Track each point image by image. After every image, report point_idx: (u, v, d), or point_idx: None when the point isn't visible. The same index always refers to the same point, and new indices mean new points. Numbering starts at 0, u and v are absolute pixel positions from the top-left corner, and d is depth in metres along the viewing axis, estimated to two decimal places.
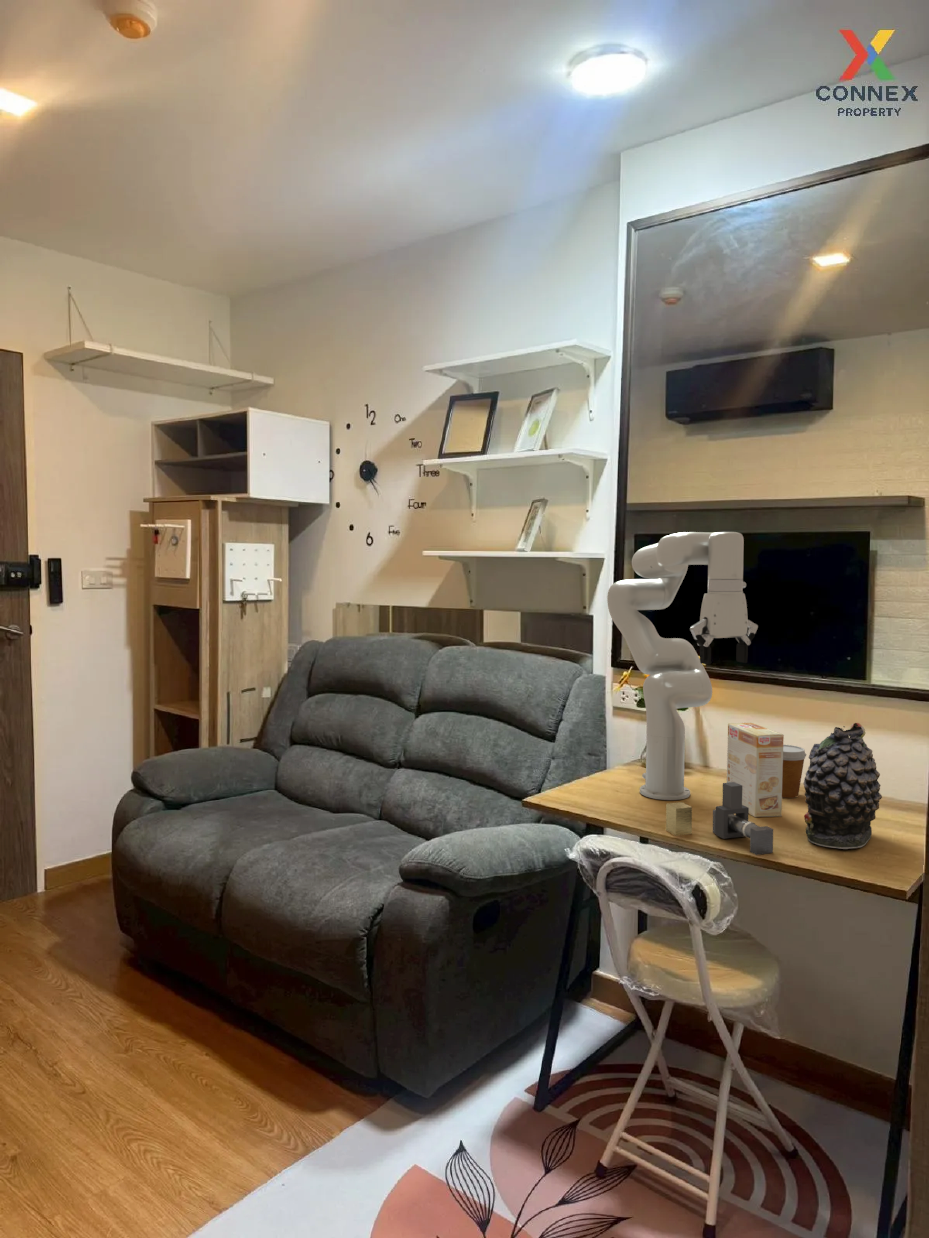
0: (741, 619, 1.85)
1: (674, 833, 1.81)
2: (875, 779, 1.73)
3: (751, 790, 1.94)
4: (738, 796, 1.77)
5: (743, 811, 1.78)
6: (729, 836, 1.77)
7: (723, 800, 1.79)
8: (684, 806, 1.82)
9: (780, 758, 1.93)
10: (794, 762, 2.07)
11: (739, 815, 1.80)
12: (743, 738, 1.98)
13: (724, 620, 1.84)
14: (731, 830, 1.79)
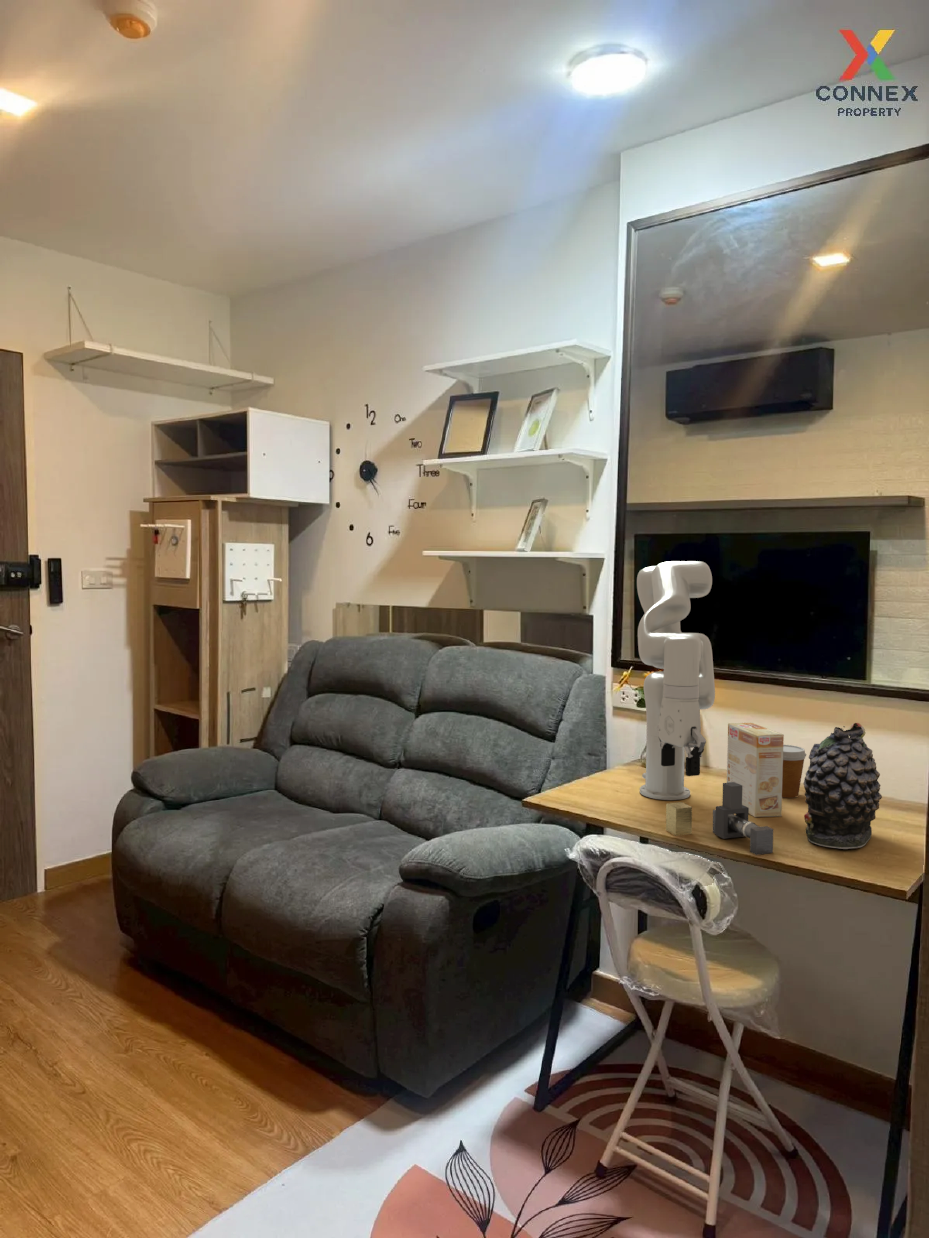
0: None
1: (674, 833, 1.81)
2: (875, 779, 1.73)
3: (751, 790, 1.94)
4: (738, 796, 1.77)
5: (743, 811, 1.78)
6: (729, 836, 1.77)
7: (723, 800, 1.79)
8: (684, 806, 1.82)
9: (780, 758, 1.93)
10: (794, 762, 2.07)
11: (739, 815, 1.80)
12: (743, 738, 1.98)
13: None
14: (731, 830, 1.79)
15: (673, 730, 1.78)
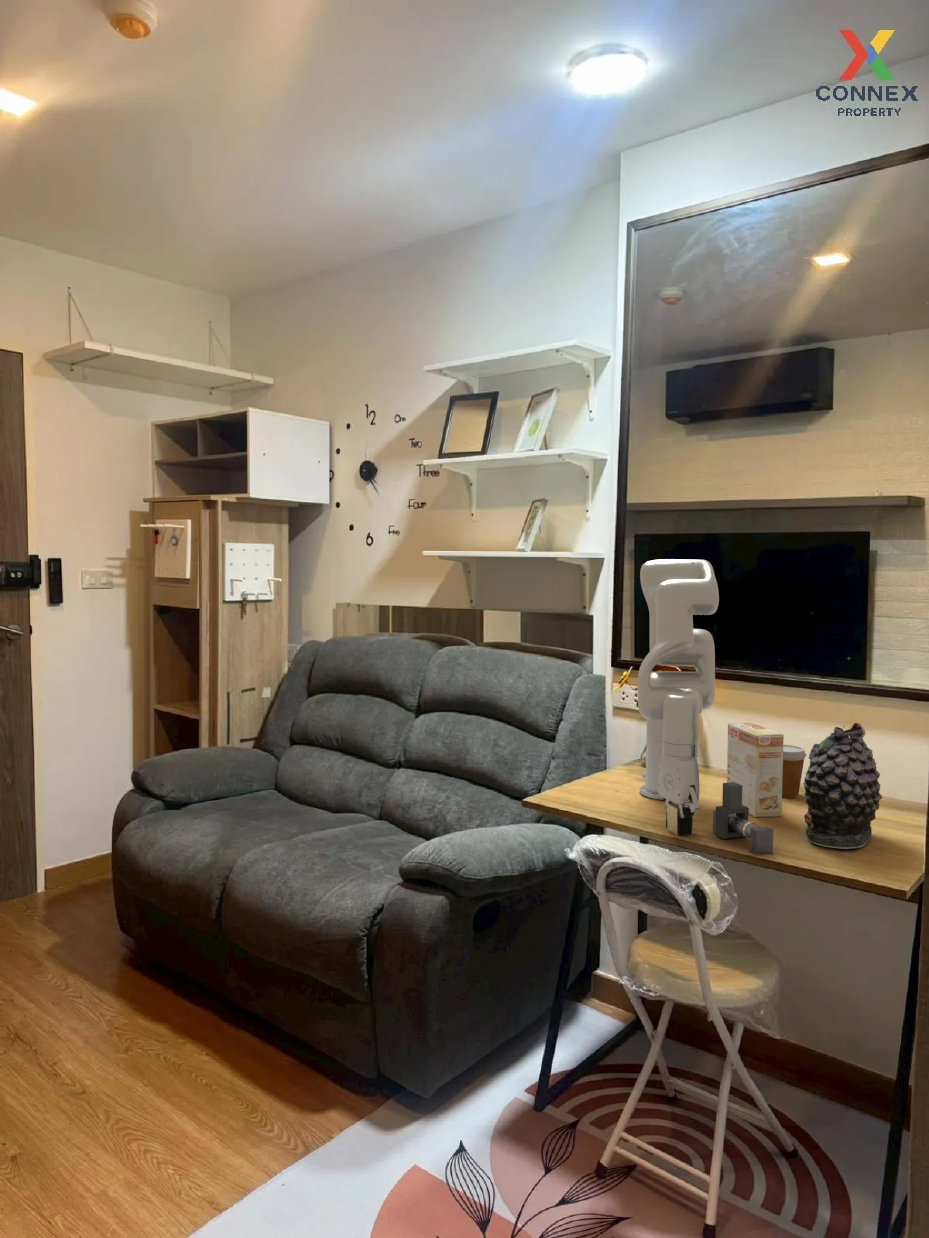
0: None
1: (675, 833, 1.81)
2: (875, 779, 1.73)
3: (751, 790, 1.94)
4: (738, 796, 1.77)
5: (743, 811, 1.78)
6: (729, 836, 1.77)
7: (723, 800, 1.79)
8: None
9: (780, 758, 1.93)
10: (794, 762, 2.07)
11: (739, 815, 1.80)
12: (743, 738, 1.98)
13: None
14: (731, 830, 1.79)
15: (672, 787, 1.80)
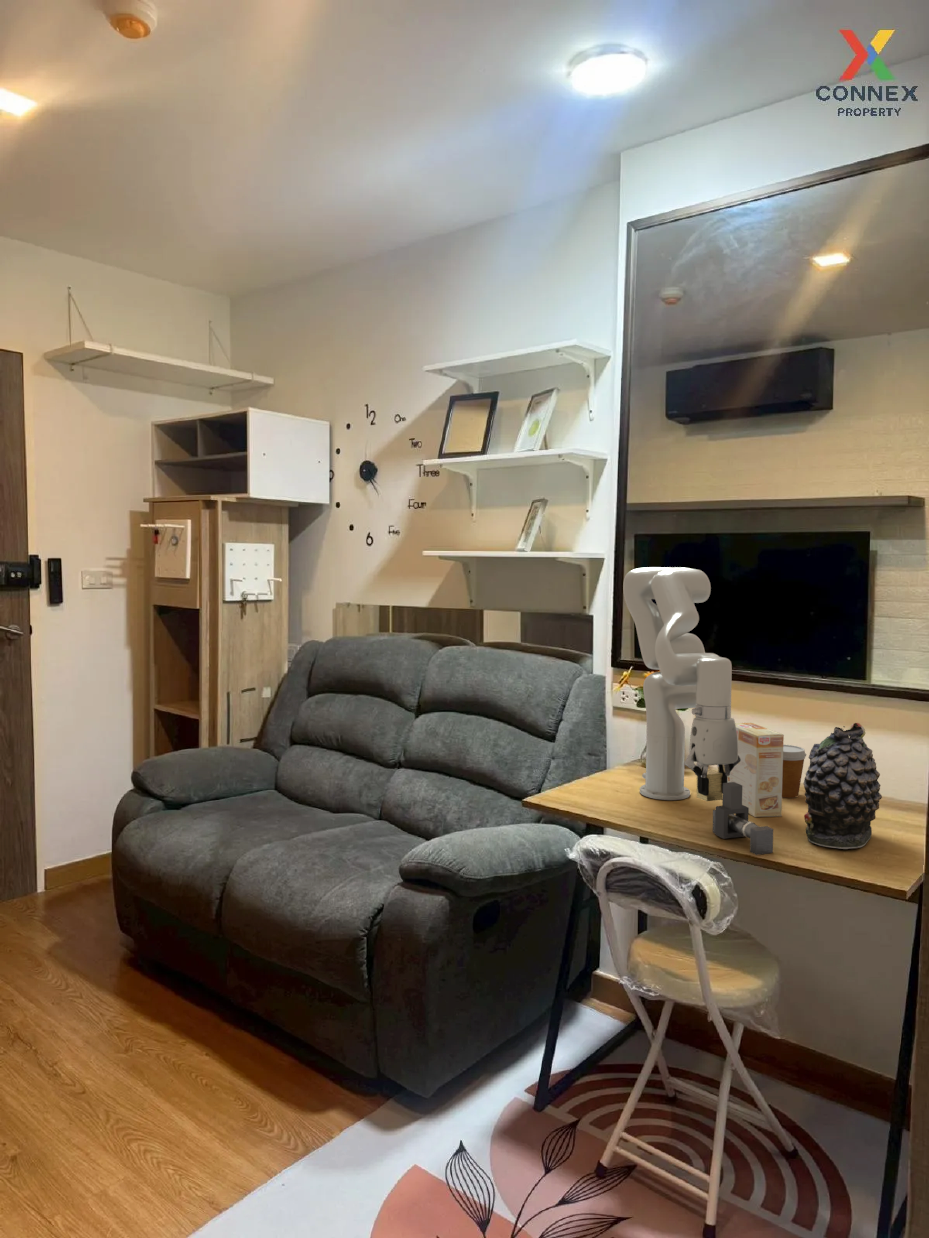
0: None
1: (720, 798, 1.85)
2: (875, 779, 1.73)
3: (751, 790, 1.94)
4: (738, 796, 1.77)
5: (743, 811, 1.78)
6: (729, 836, 1.77)
7: (723, 800, 1.79)
8: (711, 771, 1.88)
9: (780, 758, 1.93)
10: (794, 762, 2.07)
11: (739, 815, 1.80)
12: (743, 738, 1.98)
13: None
14: (731, 830, 1.79)
15: (726, 749, 1.83)
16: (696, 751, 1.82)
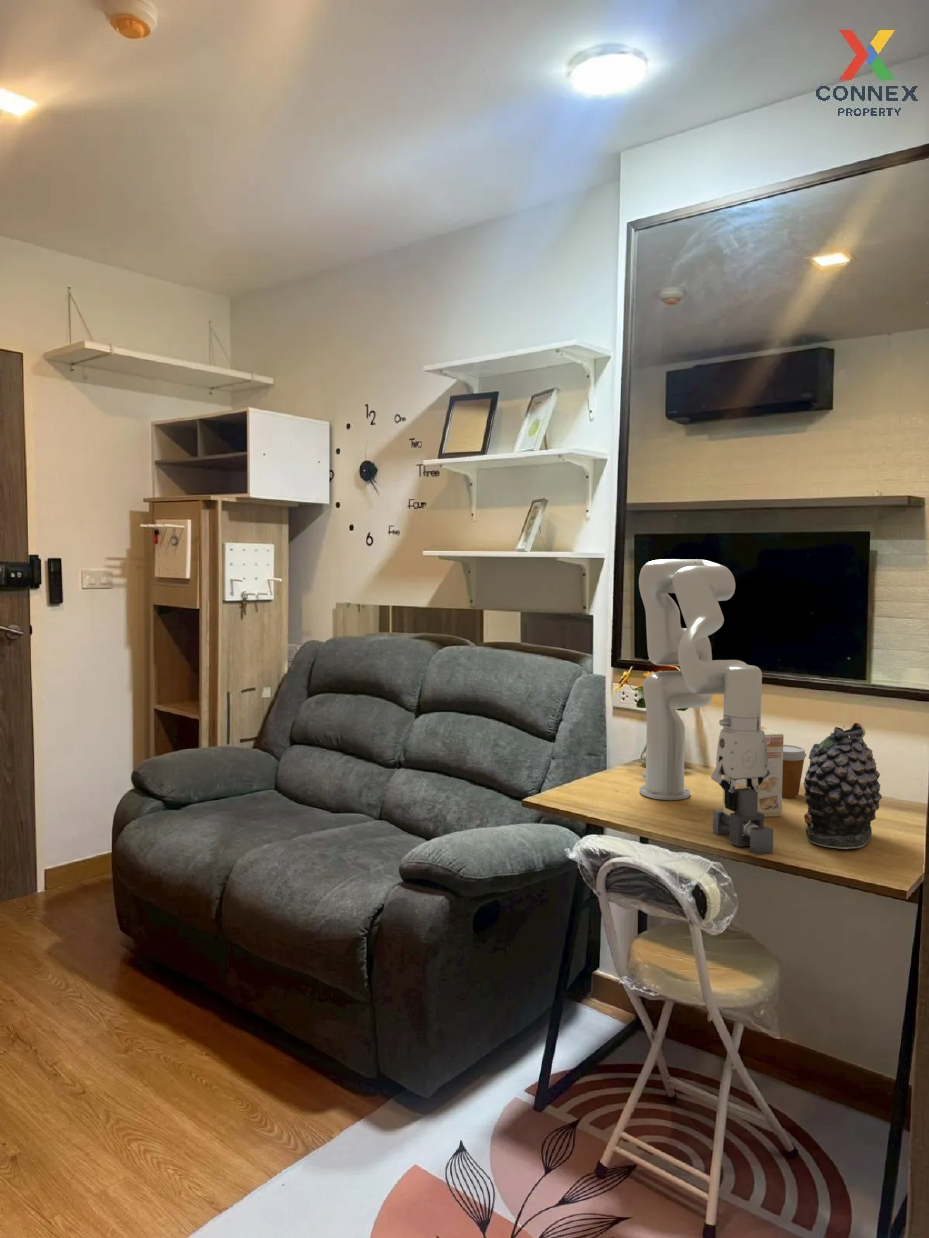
0: None
1: None
2: (875, 779, 1.73)
3: None
4: (753, 803, 1.73)
5: (758, 818, 1.73)
6: (744, 844, 1.73)
7: (738, 807, 1.75)
8: (738, 785, 1.78)
9: (780, 758, 1.93)
10: (794, 762, 2.07)
11: (754, 822, 1.75)
12: None
13: None
14: (746, 838, 1.74)
15: (755, 762, 1.73)
16: (724, 764, 1.73)
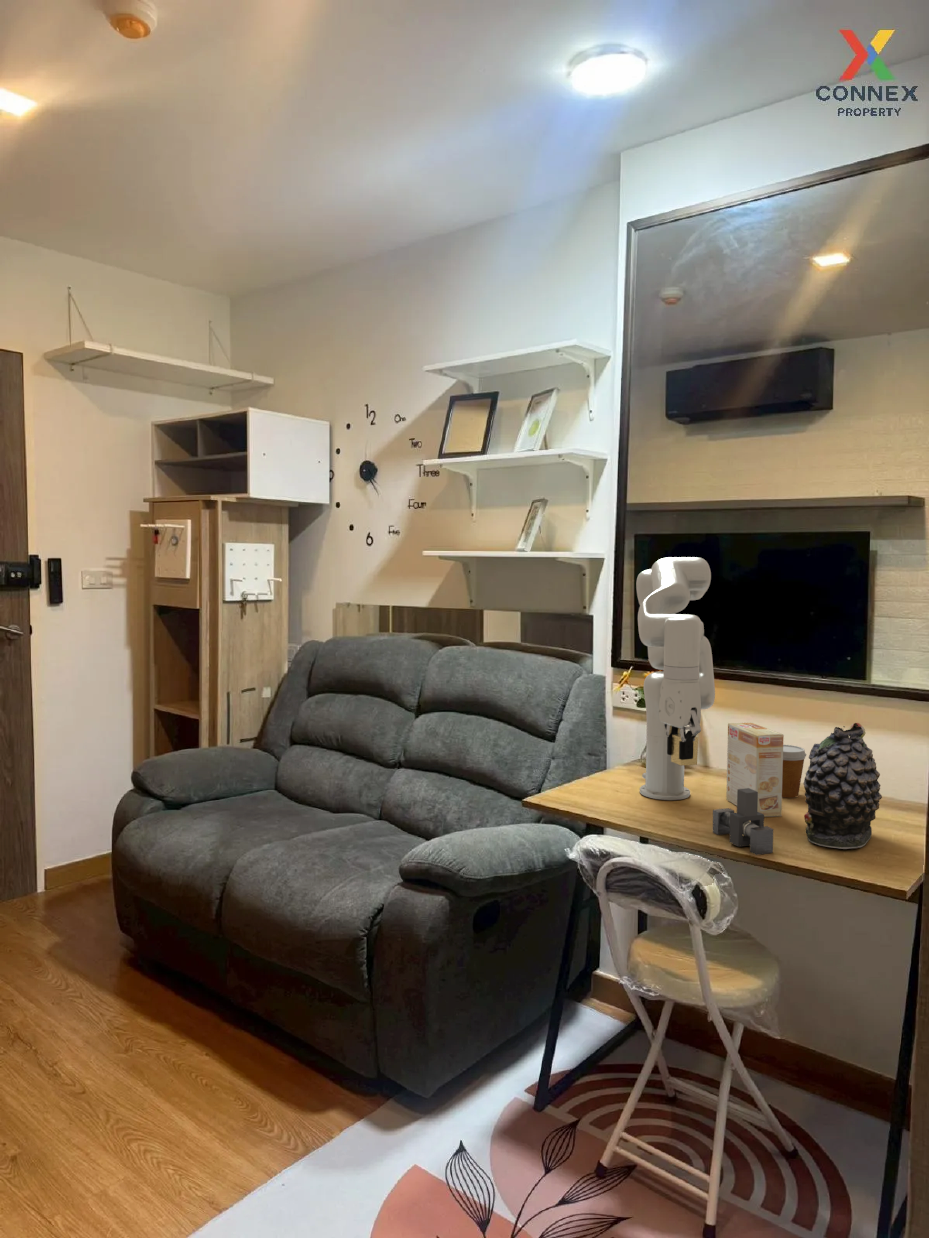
0: None
1: (679, 763, 1.80)
2: (875, 779, 1.73)
3: None
4: (753, 803, 1.73)
5: (758, 818, 1.73)
6: (744, 844, 1.73)
7: (738, 807, 1.75)
8: None
9: (780, 758, 1.93)
10: (794, 762, 2.07)
11: (754, 822, 1.75)
12: (743, 738, 1.98)
13: None
14: (746, 838, 1.74)
15: (673, 711, 1.78)
16: None
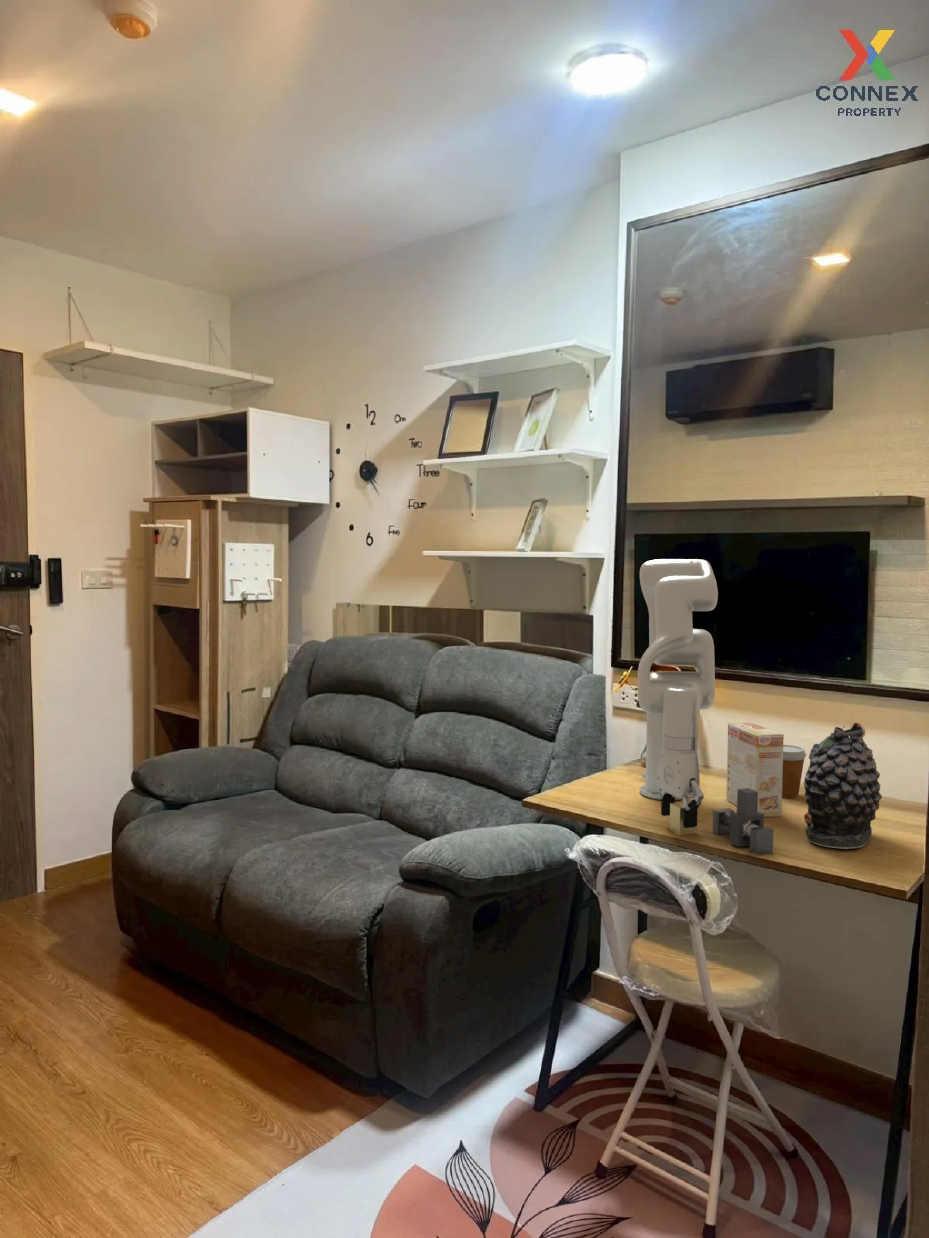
0: None
1: (678, 833, 1.81)
2: (875, 779, 1.73)
3: None
4: (753, 803, 1.73)
5: (758, 818, 1.73)
6: (744, 844, 1.73)
7: (738, 807, 1.75)
8: None
9: (780, 758, 1.93)
10: (794, 762, 2.07)
11: (754, 822, 1.75)
12: (743, 738, 1.98)
13: None
14: (746, 838, 1.74)
15: (672, 781, 1.80)
16: None
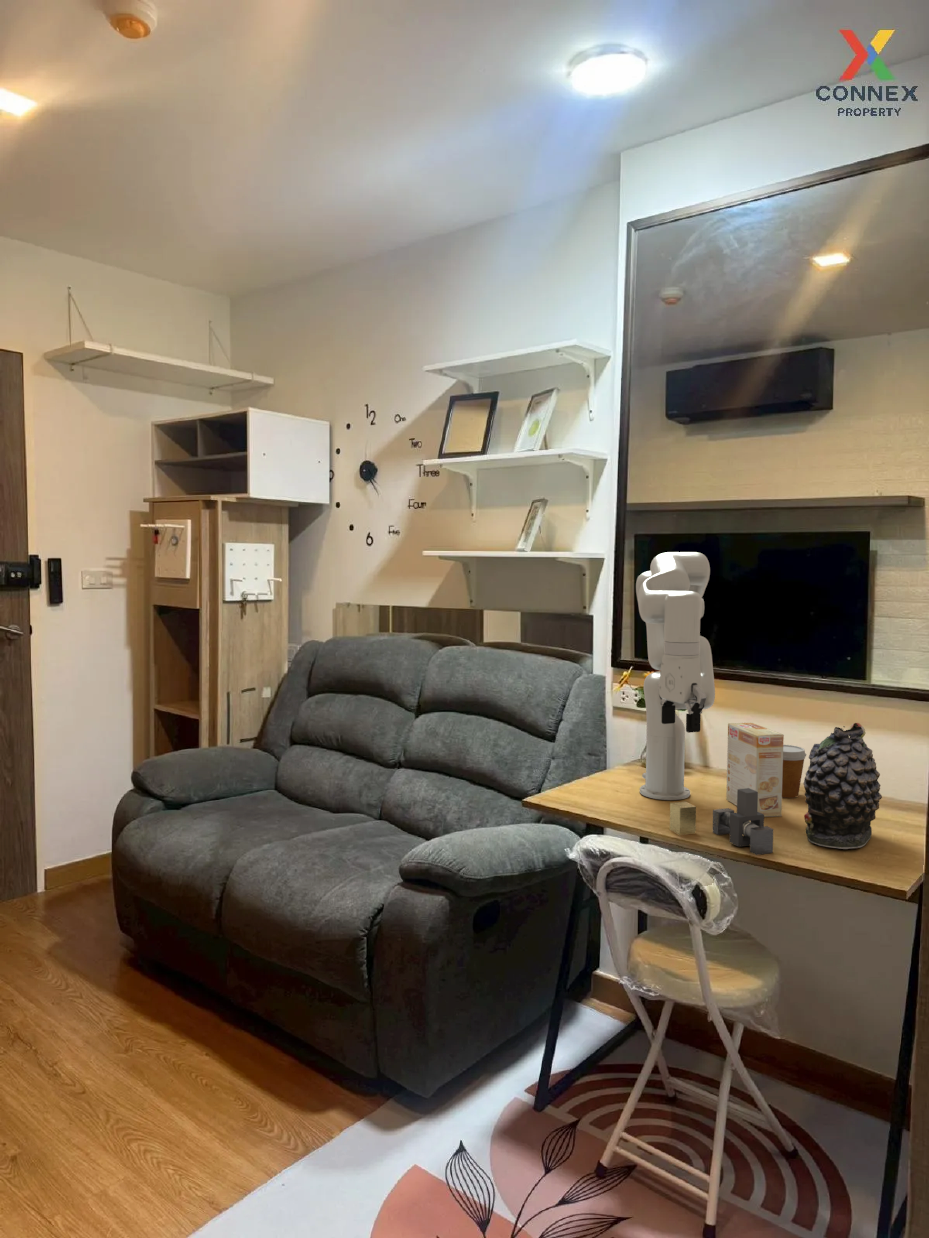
0: None
1: (678, 833, 1.81)
2: (875, 779, 1.73)
3: None
4: (753, 803, 1.73)
5: (758, 818, 1.73)
6: (744, 844, 1.73)
7: (738, 807, 1.75)
8: (688, 805, 1.82)
9: (780, 758, 1.93)
10: (794, 762, 2.07)
11: (754, 822, 1.75)
12: (743, 738, 1.98)
13: None
14: (746, 838, 1.74)
15: (674, 687, 1.78)
16: None
